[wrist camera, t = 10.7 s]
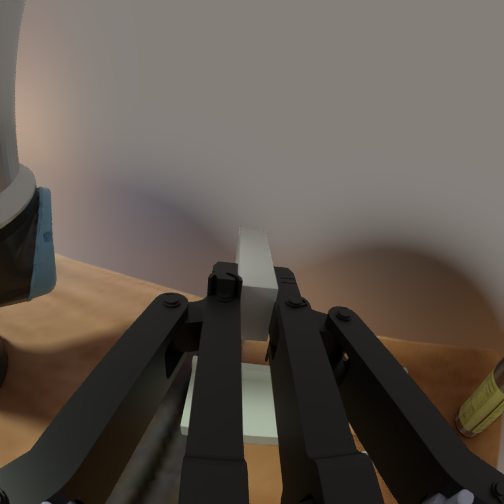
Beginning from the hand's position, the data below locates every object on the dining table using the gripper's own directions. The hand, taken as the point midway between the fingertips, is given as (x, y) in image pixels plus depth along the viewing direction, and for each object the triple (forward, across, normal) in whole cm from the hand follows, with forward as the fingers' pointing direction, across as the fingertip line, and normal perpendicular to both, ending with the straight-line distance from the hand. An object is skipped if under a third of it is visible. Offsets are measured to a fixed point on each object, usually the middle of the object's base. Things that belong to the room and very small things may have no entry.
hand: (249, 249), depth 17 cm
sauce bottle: (-2, +36, -24) cm, 43 cm away
